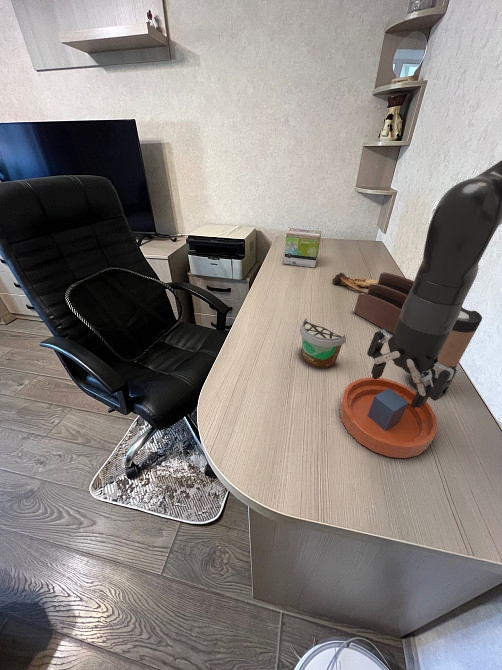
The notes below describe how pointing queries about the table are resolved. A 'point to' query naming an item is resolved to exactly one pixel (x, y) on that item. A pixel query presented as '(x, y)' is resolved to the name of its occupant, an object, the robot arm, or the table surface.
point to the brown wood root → (353, 282)
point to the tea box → (302, 247)
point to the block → (387, 409)
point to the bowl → (401, 437)
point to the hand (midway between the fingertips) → (394, 390)
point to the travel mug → (456, 341)
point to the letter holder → (384, 300)
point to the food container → (320, 345)
